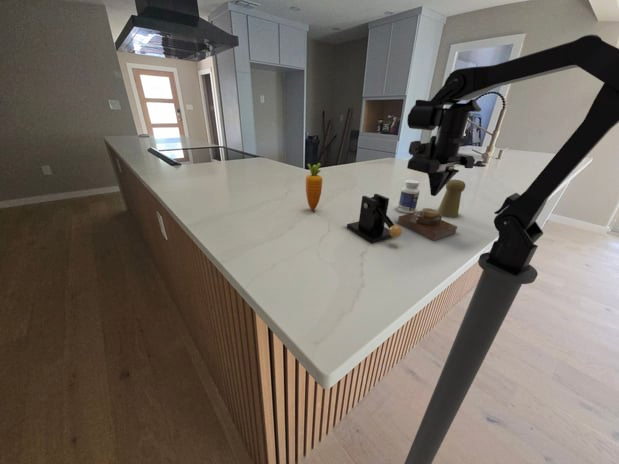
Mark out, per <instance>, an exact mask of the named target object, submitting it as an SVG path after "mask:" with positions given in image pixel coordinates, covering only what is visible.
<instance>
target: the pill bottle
mask: <svg viewBox="0 0 619 464" xmlns="http://www.w3.org/2000/svg"><path fill="white" fill-rule="evenodd" d="M418 187H420V181H418V180H415V179H406V180H405V182H404V186H403V187H401V191H400V195H399V201H398V206H397V210H398V211H399V212H401V213H405V214H411V213H415V212H416V208H417V204H418V201H419V197H420V192H421V191H420V189H419V188H418Z"/></svg>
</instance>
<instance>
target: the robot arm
mask: <svg viewBox="0 0 619 464" xmlns="http://www.w3.org/2000/svg"><path fill="white" fill-rule="evenodd" d="M575 68H576V69H577V68H580V69H581V70H583V71H584V72H586V73H588V74H589V75H591V76H592V77H594V78H596V79H597V80H599V81H600V82H602V83H603V84H602V86H601V87H600V89H599V91H598V93H597V94H596V96H595V98H594V100H593V102H592V104H590V105H591V106H590V107H589V109H588V111H587V113H586V115H585V118H584V119H583V121H582V122H581V123H580V124H579V126H578V127H577V128H576V129H575V131H574V132H573V133H572V134H571V135H570V137H569V138H567V140H566V141H565V142H564V144H563V145H562V146H561V147H560V149H559V150H558V151H557V152H556V154H555V155H554V156H553V157H552V158H551V160H550V161H549V162H548V163H547V164H546V165H545V167H544V168H542V170H541V172H540V173H539V174H538V175H537V177H536V178H535V179H534V180H533V181H532V182H531V183H530V185H529V186H528V187H527V188H526V190H524V191H523V193H521V194H519V193H518V192H514V193H512V194H510V195H509V196H507V197H506V198H505V200H504V201H503V203H502V205H501V206H500V208H498V210H495V211H494V212H493V214H494V215H495V217H494V219H493V224H494V227H495V229H496V231H498V237H497V240H494V241H493V244H492V246H491V249H490V251H489V252H490V253H489V257H490V258H488V259H486V262H488V263H490V264H492V265H494V266H496V267H498V268H501V269H503V270H505V271H507V272H509V273H511V274H513V275H516V276H517V275H519V274H521V273H523V272H525V271H526V270H528V269H530V266H529V264H531V261H532V259H533V257H534V255H535V253H536V252H537V249H538V247H539V245H538V244H535V243H536V242H537V241H539V239H540V238H541V237H542V236H543V235H544V232H543V230H542V228H541V227H540V226H539V224H538V222H537V220H538V218H539V216H540V215H541V213H542V211H543V209H544V208H545V206H546V204H547V201H548V199H549V198H550V197H551V196H552V195H553V194H554V193H555V192H556V190H557V189H559V187H561V185H562V184H563V182H564V181H565V180H566V179H567V178H568V177H569V176H570V175H571V174H572V173H573V172H574V170H575V169H576V168H577V167H578V166H579V165H580V164H581V163H582V162H583V161H584V160H585V158H586V157H587V156H588V155H589V154H590V153H591V152H592V151H593V150H594V149H595V148H596V147H597V145H598V144H599V143H600V142H601V141H602V140H603V139H604V138H605V137H606V135H607V134H608V133H609V132H610V131H611V130H612V129H614V128H615V126H617V125H618V124H619V48H618V47H617V46H614V45H612V44H610V43H608V42H606V41H604V40H603V39H602V38H601V37H600V36H599V35H597V34H593V33H592V34H586V35H583V36H580V37H579V38H577V39H575V40H572V41H568V42H565V43H562V44H559V45H556V46H553V47H549V48H546V49H543V50H539V51H535V52H532V53H529V54H526V55H523V56H520V57H516V58H513V59H510V60H506V61H503V62H500V63H497V64H491V65H480V66H470V67H464V68H463V67H462V68H458V69H455V70H453V71H452V72H450V73H449V75H448V76H447V78H446V79H445V82H444V84H443V86H442V87H441V88H440V89H439V90H438V91H437V92H436V94H435V95H433V97H432V98H431V99H430V100H427V99H416V100H415V102H414V103H415V104H414V105H413V106H412V107H411V108H410V111H409V113H407V121H406V122H407V126H408V128H409V129H412V130H422V131H434V130H435V129H436V128H437V129H436V130H437V131H436V134H435V135H431V137H430V138H429V141H428V142H424V143H423V142H422V141H420V140H414V141H410V142H409V147H408V154H409V155H410V156H411V158H409V159H408V162H407V166H406V169H408V170H412V171H416V172H420V173H423V174H426V175H427V177H428V181H429V182H428V183H429V190H430V195H431V196H432V197H437V195H438V194H439V193H440V192H441V191H442V190H443V188H444V187H446V184H447V183H448V181H449V180H452V178H453V177H454V176H455V175H456V174H457V173H459V172H460V170H459V169H456V168H455V167H456V166H457V165H458V166H463V167H464V168H465V169H470V168H474V165H475V162H476V159H475V157H474V155H469V154H464V153H459V151H460V148H461V144H464V143H466V141H467V137H464V134H465V131H466V126H467V123H468V120H469V117H470V113H471V112H472V113H480V112H482V108H481V106H479V104H478V102H477V100H476V99H475V98H477V97H480V96H482V95H484V94H487V93H488V92H491V91H492V90H494V89H496V88H499V87H503V86H507V85H510V84H514V83H519V82H523V81H527V80H531V79H534V78H538V77H543V76H547V75H551V74H554V73H559V72H563V71H567V70H571V69H575ZM462 101H464V102H465V101H467V102H466V103H461V102H462ZM444 106H449V108H448V107H444ZM455 165H456V166H455Z"/></svg>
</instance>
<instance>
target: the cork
mask: <svg viewBox="0 0 619 464" xmlns="http://www.w3.org/2000/svg"><path fill="white" fill-rule="evenodd" d="M445 189H446V191H445V193H444V195H443V197H442V200H441V202H440V204H439V207H438V209H437V210H436V211H437V214H439V215H440V216H442V217H444V218H451V219H453V218H458V216H459V211H460V204H461V197H462V192H463V191H465V189H466V183H465V181H463V180H460V179H450V180H449V181H448V183H447V184H446V185H445Z"/></svg>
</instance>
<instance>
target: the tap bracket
mask: <svg viewBox="0 0 619 464" xmlns="http://www.w3.org/2000/svg"><path fill="white" fill-rule="evenodd" d="M376 196H377V197H378V198H379V200H380V201H381V202H382V204H383V205H382V206H381V208H382V210H383V211H384V212H385V213H386V215H388V214H387V213H388V207H389V203H390V198H389V197H386V196H384V195H382V194H379V193H374V194H373V197H376ZM376 206H377V201H376V200H374V199H372V198H371V197H370V196H368V195H362V196H361V202H360V211H359V217H358V218H359V219H358V221H354V222H349V223H347V224H346V228H347V230H349V231H351V232H353V233H354V234H356V235H357V236H359V237H360V238H362V239H363V240H365V241H367V242H368V243H369V244H375V243H378V242H383V241H386V240H389V239H394V237H392V236H391V235H390V234H389V228H387V227H385V225H386V223H385V222H384V221H383V219H382V218H381V217H380V215H379V214H378V213H377V211H376Z"/></svg>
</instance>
